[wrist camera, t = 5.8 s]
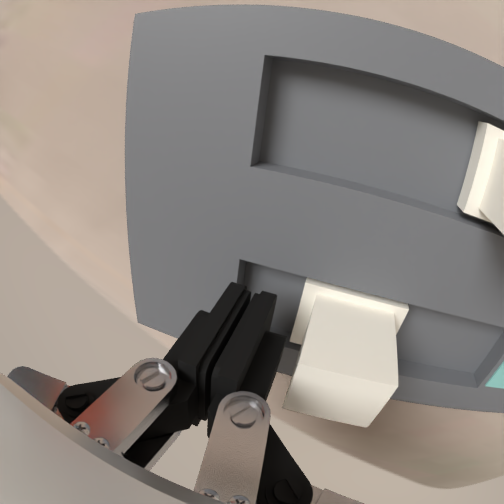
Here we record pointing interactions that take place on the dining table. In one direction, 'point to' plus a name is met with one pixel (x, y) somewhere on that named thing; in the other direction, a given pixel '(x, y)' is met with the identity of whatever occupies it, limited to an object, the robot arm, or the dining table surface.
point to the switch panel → (316, 180)
